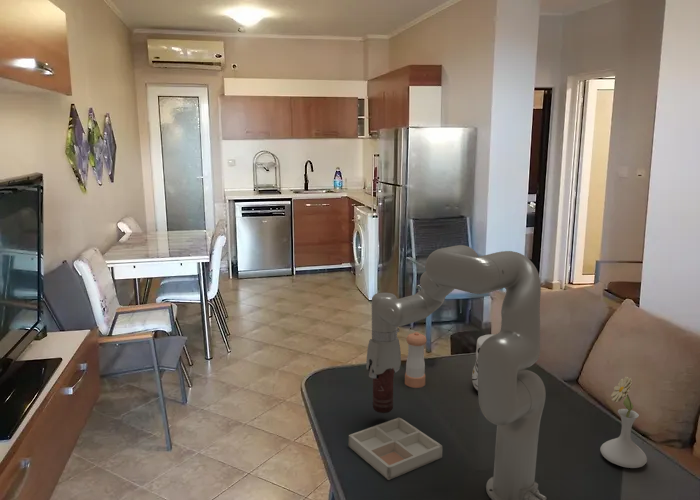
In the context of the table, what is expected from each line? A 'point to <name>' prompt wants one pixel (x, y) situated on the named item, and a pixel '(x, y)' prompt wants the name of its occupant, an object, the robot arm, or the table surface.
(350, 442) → the divided tray
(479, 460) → the table surface
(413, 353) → the pepper shaker
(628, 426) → the flower in vase
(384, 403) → the can
